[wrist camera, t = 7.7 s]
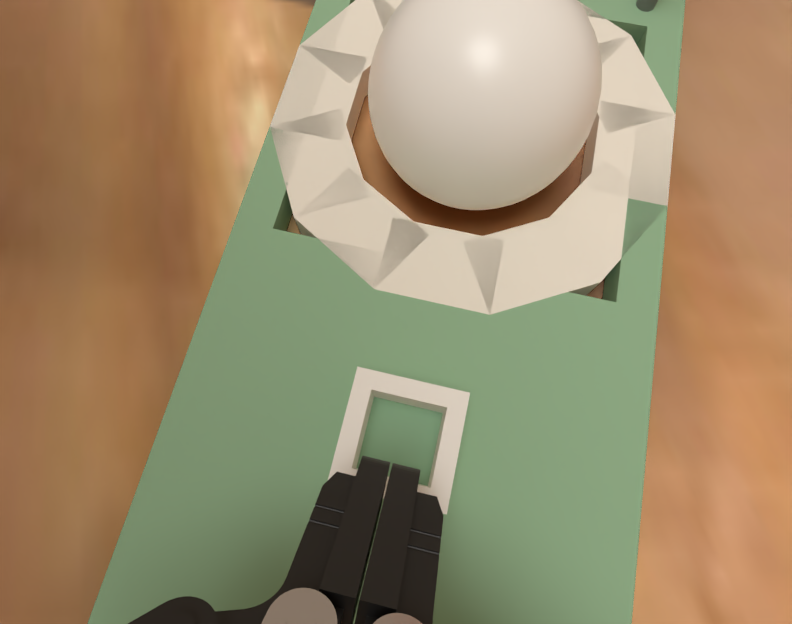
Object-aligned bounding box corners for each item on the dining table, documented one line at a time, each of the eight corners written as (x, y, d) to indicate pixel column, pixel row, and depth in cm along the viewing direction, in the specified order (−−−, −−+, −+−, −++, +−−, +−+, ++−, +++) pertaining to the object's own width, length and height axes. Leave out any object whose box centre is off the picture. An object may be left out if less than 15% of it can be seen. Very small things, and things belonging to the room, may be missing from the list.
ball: (302, -28, 15) (343, 140, 22) (460, 171, 12) (446, 280, 20) (525, -146, 15) (491, 54, 23) (707, 21, 13) (603, 181, 21)
